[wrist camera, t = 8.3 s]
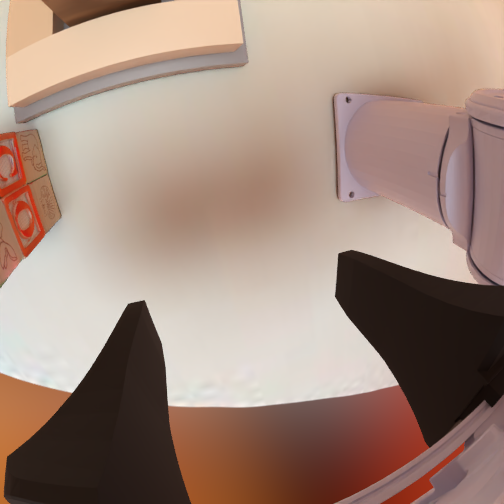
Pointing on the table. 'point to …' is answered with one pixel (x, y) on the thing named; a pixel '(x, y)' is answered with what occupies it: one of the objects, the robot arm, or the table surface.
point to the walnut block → (91, 8)
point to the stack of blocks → (23, 198)
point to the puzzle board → (114, 49)
